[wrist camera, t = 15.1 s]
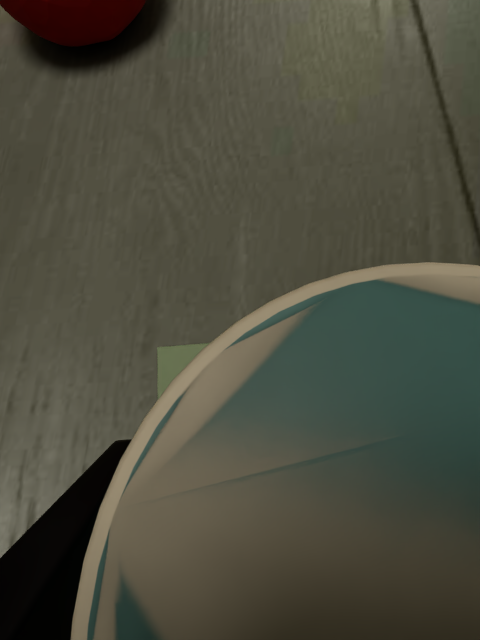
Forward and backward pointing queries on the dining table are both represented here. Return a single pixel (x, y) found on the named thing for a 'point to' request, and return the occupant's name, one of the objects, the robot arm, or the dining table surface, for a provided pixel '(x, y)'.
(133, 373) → the dining table surface
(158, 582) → the teal cup
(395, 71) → the dining table surface
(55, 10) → the fruit
